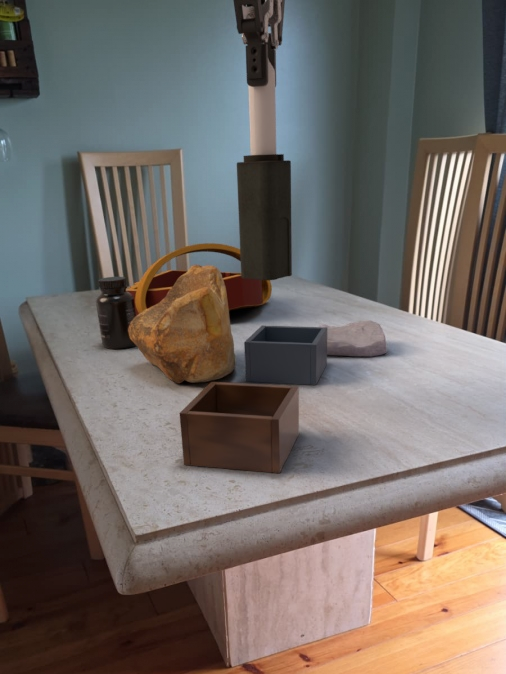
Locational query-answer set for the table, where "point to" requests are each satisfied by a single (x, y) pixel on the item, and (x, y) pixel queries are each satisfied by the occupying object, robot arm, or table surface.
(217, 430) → the crate left
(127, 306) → the supplement bottle
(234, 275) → the decorative basket
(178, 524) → the table surface
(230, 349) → the rough brown rock
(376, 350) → the stone block
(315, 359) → the crate right
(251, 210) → the candle
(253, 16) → the robot arm
